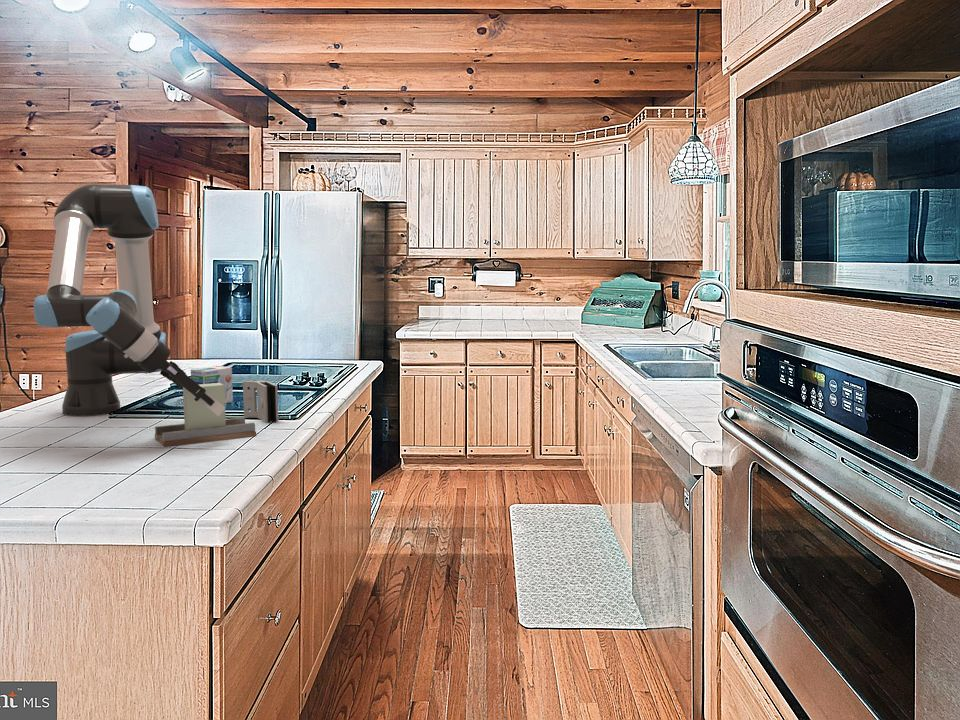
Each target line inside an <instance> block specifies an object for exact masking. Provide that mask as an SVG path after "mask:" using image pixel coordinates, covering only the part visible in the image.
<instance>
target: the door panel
mask: <svg viewBox="0 0 960 720" xmlns="http://www.w3.org/2000/svg"><path fill="white" fill-rule="evenodd" d="M199 385H200V386H201V387H202V388H204V389H205V390H206V391H207V392H208V393H209V394H210V395H211V396H212V397H214V398H215V399H216V400H217V401H218V402H219V403H221V404H222V405H223V406H224V407H225V408H226V403H225V394H224V385H223V384H221V383H211V384H199ZM198 391H199V390H198ZM198 391H197V392H196V394H197V393H198ZM182 393H183V396H182V397H183V424H185V430H192V429H201V428H210V427H219V426H226V420H225V419H226V409H225V410H224V411H223V412H222V413H221V414H220V415H219V416H217V415H216V414H214V413H213V412H212V411H211V410H210V409H208V408H207V407H206V406H205V405H204V404H203V403H201V402H200V401H199V400H198V401H197V402H196V401H195V400H194V399H195V398H196V397H195V396H194V395H193V394H191V393H190V392H189V391H188V390H186V389H185V388H184V387H183V390H182Z"/></svg>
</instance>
